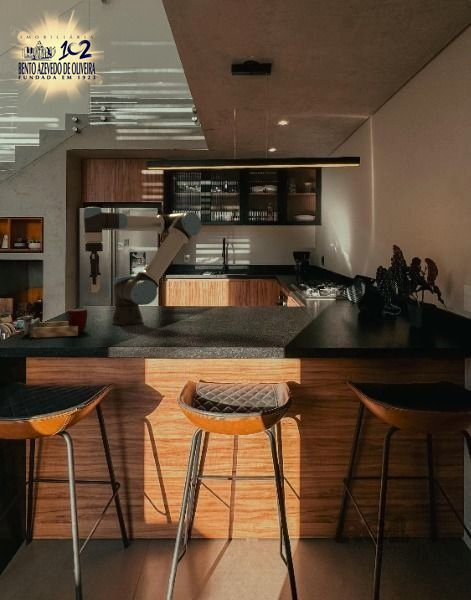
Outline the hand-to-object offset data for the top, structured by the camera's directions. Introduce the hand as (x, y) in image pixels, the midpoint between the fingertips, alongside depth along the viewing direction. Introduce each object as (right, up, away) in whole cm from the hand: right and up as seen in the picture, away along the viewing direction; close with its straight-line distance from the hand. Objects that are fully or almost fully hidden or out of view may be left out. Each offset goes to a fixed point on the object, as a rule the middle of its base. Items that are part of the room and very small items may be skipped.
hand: (95, 290), depth 221 cm
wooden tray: (-16, -19, -2) cm, 25 cm away
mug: (-8, -19, 0) cm, 21 cm away
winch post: (-28, -19, -4) cm, 35 cm away
